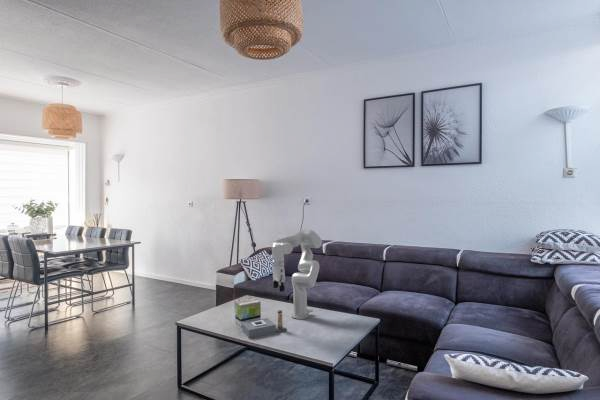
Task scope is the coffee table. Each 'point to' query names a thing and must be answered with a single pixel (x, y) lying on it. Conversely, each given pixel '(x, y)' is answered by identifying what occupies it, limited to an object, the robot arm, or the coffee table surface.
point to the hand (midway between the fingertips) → (278, 289)
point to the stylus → (280, 320)
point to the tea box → (247, 311)
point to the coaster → (281, 330)
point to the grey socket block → (258, 327)
